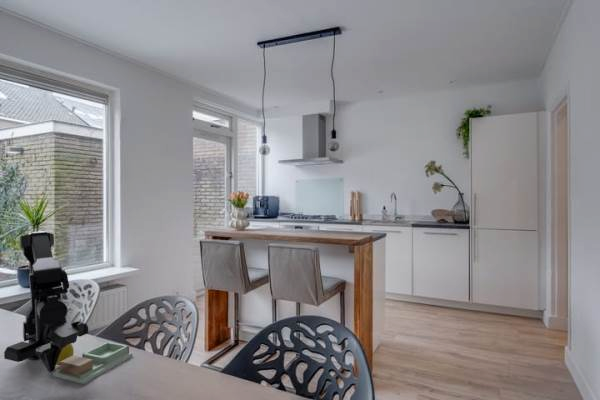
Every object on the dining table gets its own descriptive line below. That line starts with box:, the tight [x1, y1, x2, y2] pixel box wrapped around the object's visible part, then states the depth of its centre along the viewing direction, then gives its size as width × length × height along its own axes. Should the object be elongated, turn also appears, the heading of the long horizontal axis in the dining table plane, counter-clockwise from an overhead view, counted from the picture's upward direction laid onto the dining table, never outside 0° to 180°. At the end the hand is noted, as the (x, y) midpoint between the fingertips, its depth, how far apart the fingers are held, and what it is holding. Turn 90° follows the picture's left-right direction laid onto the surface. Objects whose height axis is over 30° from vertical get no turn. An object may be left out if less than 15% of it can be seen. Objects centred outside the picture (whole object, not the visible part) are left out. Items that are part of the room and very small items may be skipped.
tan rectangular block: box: [59, 354, 93, 377], centre depth 102 cm, size 8×4×3 cm, turn 69°
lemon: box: [56, 343, 75, 366], centre depth 107 cm, size 6×6×8 cm
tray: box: [52, 341, 134, 385], centre depth 107 cm, size 12×17×3 cm
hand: (51, 371), depth 95 cm, fingers closed
